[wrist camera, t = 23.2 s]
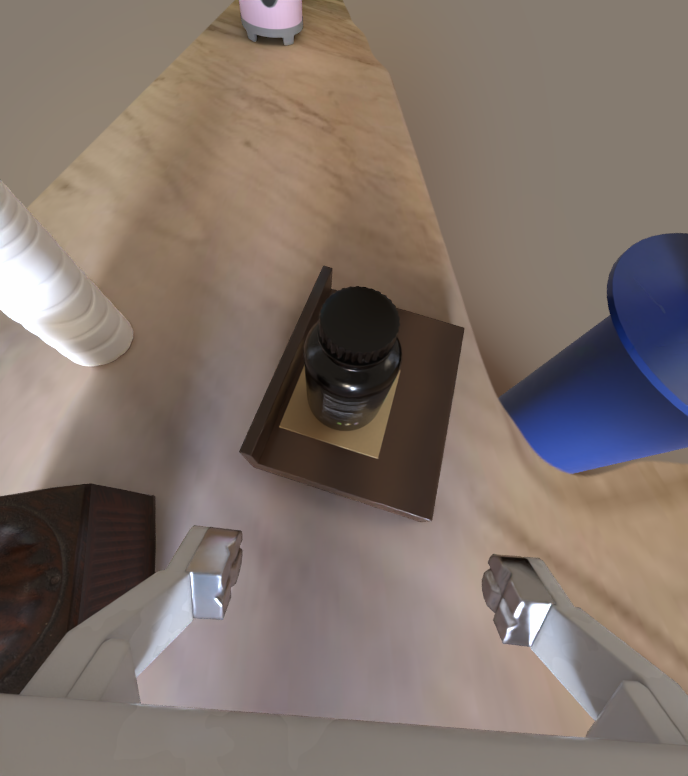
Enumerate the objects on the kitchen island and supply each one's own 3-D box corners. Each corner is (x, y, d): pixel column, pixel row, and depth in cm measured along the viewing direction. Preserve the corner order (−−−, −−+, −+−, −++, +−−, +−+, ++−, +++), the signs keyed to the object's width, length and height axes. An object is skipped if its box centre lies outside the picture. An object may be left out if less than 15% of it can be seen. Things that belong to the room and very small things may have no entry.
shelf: (453, 342, 37) (477, 309, 31) (421, 522, 28) (445, 519, 23) (322, 303, 38) (323, 265, 32) (253, 466, 29) (238, 451, 24)
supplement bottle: (396, 401, 30) (441, 324, 19) (341, 448, 27) (357, 393, 16) (346, 352, 31) (362, 256, 20) (291, 393, 29) (276, 310, 18)
